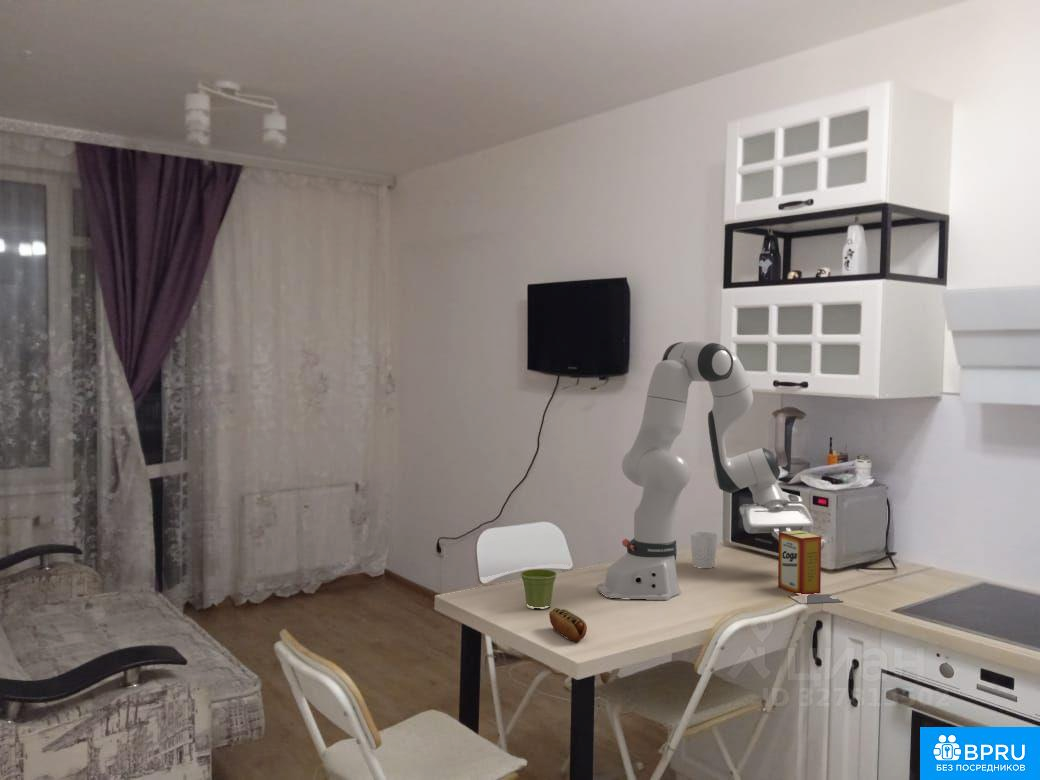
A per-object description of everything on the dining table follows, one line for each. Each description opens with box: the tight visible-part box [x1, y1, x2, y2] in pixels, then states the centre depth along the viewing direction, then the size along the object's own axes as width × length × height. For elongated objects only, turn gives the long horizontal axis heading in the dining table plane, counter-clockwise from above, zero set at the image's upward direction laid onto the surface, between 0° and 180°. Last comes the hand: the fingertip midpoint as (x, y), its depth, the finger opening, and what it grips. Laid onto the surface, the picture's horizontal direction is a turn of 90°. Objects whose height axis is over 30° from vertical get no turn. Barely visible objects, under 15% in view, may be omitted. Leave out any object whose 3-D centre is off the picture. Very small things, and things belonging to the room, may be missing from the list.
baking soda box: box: [777, 530, 822, 595], centre depth 229 cm, size 10×6×16 cm
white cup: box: [690, 531, 718, 569], centre depth 257 cm, size 8×8×10 cm
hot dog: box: [548, 607, 588, 642], centre depth 191 cm, size 5×13×5 cm, turn 24°
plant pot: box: [520, 568, 558, 607], centre depth 213 cm, size 9×9×9 cm
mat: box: [806, 593, 844, 605], centre depth 221 cm, size 12×7×1 cm, turn 99°
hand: (785, 543), depth 237 cm, fingers closed
